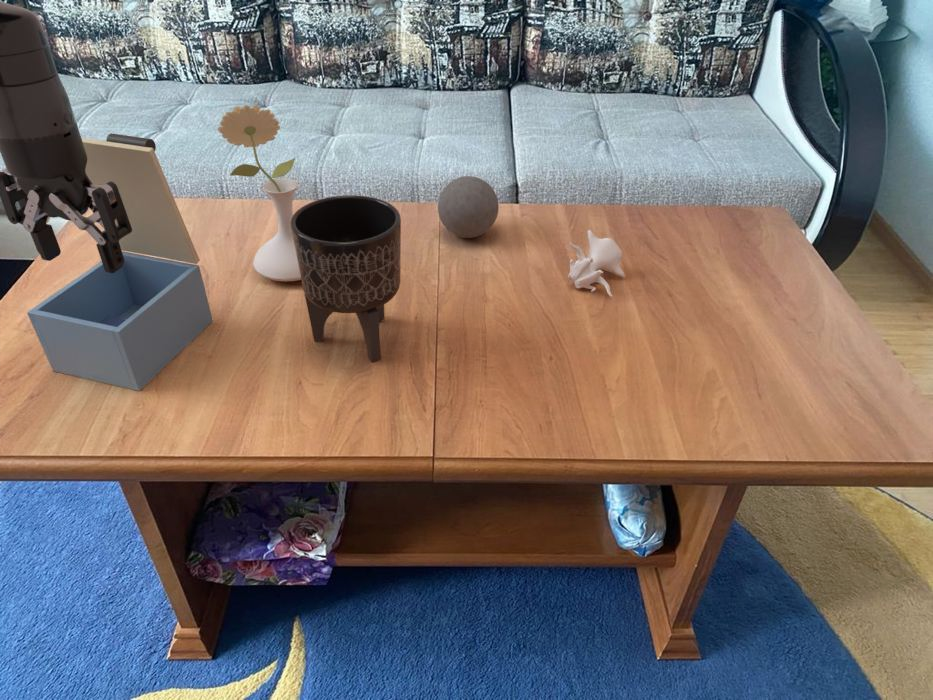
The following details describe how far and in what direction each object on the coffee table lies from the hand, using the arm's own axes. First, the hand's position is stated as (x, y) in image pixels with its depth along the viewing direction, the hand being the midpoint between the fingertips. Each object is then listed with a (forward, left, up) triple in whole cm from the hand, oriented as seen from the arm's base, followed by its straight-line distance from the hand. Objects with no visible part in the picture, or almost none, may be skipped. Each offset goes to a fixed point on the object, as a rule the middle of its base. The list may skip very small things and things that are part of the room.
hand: (83, 263), depth 79 cm
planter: (+28, -12, -14) cm, 33 cm away
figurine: (+65, -18, -14) cm, 69 cm away
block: (0, 0, -13) cm, 13 cm away
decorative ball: (+57, +5, -14) cm, 59 cm away
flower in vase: (+27, +10, -14) cm, 32 cm away
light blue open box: (+3, +2, -14) cm, 14 cm away
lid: (+7, +6, +3) cm, 10 cm away
